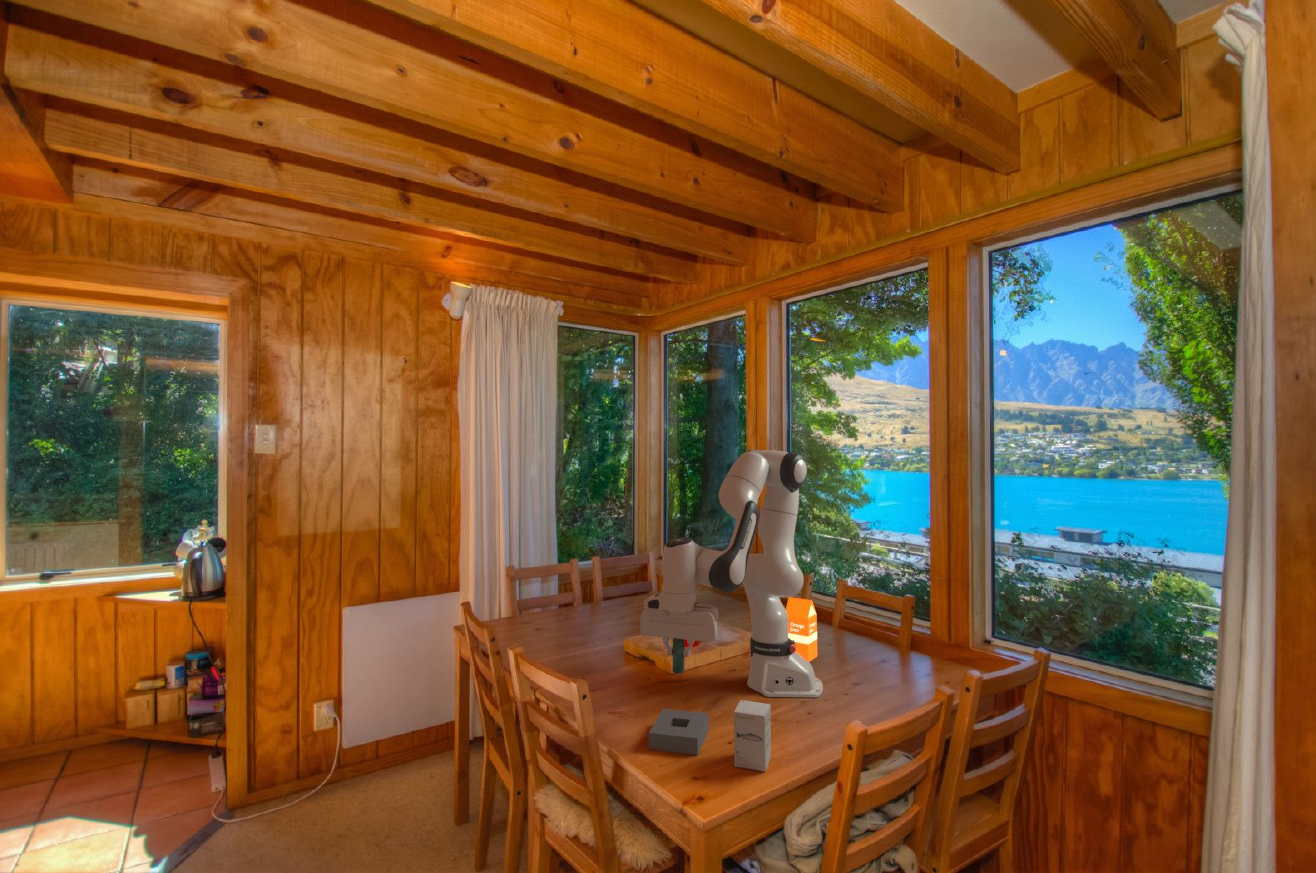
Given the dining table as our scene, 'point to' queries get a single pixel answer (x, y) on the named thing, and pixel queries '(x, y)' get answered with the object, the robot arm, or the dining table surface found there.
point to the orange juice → (803, 627)
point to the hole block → (679, 731)
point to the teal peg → (678, 655)
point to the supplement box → (752, 735)
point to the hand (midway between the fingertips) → (678, 655)
